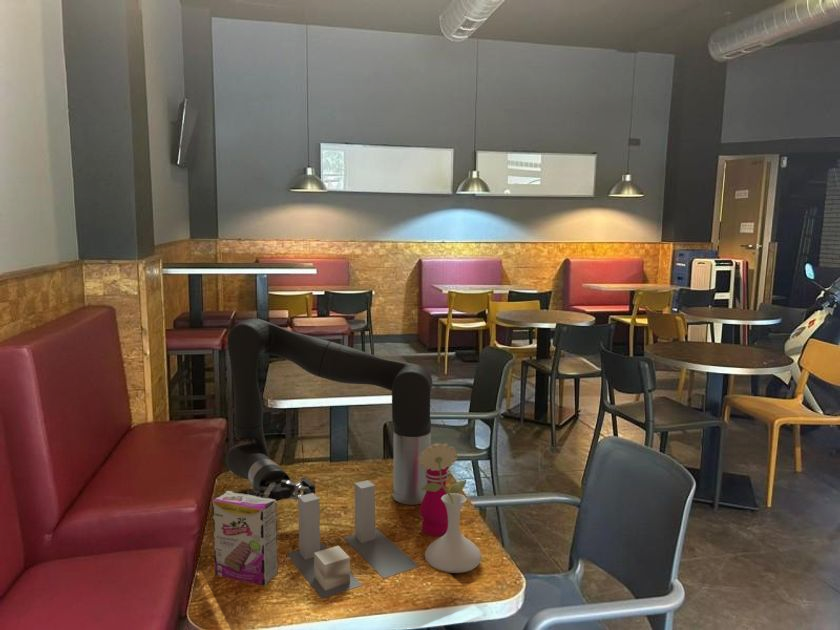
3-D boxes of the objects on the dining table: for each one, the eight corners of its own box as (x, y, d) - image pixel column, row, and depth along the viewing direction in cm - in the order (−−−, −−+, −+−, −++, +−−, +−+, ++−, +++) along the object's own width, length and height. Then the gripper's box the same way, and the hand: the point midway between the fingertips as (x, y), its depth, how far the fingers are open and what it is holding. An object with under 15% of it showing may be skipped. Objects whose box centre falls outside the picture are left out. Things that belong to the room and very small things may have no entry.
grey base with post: (376, 533, 136) (375, 476, 134) (419, 571, 121) (419, 508, 119) (342, 542, 132) (342, 484, 130) (383, 584, 117) (383, 518, 115)
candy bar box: (213, 581, 117) (210, 500, 115) (230, 568, 122) (227, 489, 120) (264, 593, 114) (262, 509, 111) (279, 579, 118) (277, 497, 116)
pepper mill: (427, 540, 134) (428, 451, 131) (414, 525, 140) (415, 440, 137) (457, 533, 136) (459, 446, 134) (443, 519, 143) (444, 436, 140)
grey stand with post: (323, 548, 129) (322, 488, 127) (362, 591, 114) (361, 524, 112) (286, 559, 125) (285, 497, 123) (321, 605, 110) (320, 535, 108)
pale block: (338, 569, 119) (338, 545, 118) (350, 582, 115) (349, 557, 114) (314, 577, 116) (314, 552, 116) (325, 590, 112) (324, 564, 112)
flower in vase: (483, 551, 129) (486, 436, 125) (478, 582, 118) (481, 456, 114) (421, 545, 131) (422, 432, 128) (411, 575, 120) (412, 451, 117)
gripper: (237, 470, 141) (259, 496, 127) (296, 458, 148) (323, 481, 135) (238, 501, 142) (260, 530, 128) (297, 488, 150) (324, 514, 136)
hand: (292, 505), depth 132 cm, fingers open, 8 cm apart
